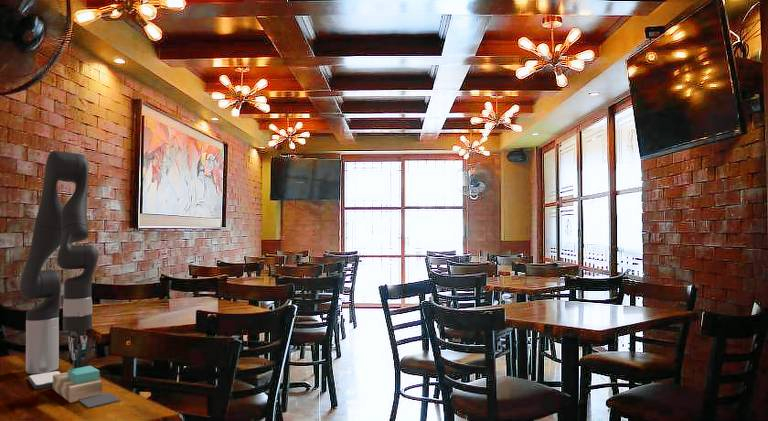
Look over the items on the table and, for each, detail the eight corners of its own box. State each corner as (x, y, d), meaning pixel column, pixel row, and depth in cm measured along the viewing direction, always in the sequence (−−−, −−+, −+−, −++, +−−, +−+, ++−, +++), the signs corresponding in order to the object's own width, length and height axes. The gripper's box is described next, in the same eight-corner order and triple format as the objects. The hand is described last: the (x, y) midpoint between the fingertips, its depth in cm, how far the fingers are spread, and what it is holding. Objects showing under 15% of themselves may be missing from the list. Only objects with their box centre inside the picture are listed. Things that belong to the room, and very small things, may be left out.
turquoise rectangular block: (67, 378, 153) (67, 369, 153) (90, 374, 157) (90, 365, 157) (76, 384, 147) (76, 375, 147) (99, 379, 151) (99, 370, 151)
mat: (78, 400, 145) (78, 399, 145) (109, 393, 151) (109, 392, 151) (88, 408, 139) (88, 407, 139) (121, 401, 144) (121, 399, 144)
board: (52, 388, 156) (52, 375, 156) (82, 382, 162) (82, 369, 162) (70, 402, 144) (70, 387, 144) (102, 395, 149) (102, 381, 149)
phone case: (26, 380, 167) (34, 391, 155) (26, 375, 167) (34, 385, 155) (59, 375, 173) (69, 385, 161) (59, 370, 173) (69, 379, 161)
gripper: (57, 311, 158) (57, 370, 158) (70, 317, 149) (69, 379, 149) (85, 308, 163) (84, 365, 163) (99, 314, 154) (99, 374, 154)
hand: (77, 372), depth 156 cm, fingers closed
